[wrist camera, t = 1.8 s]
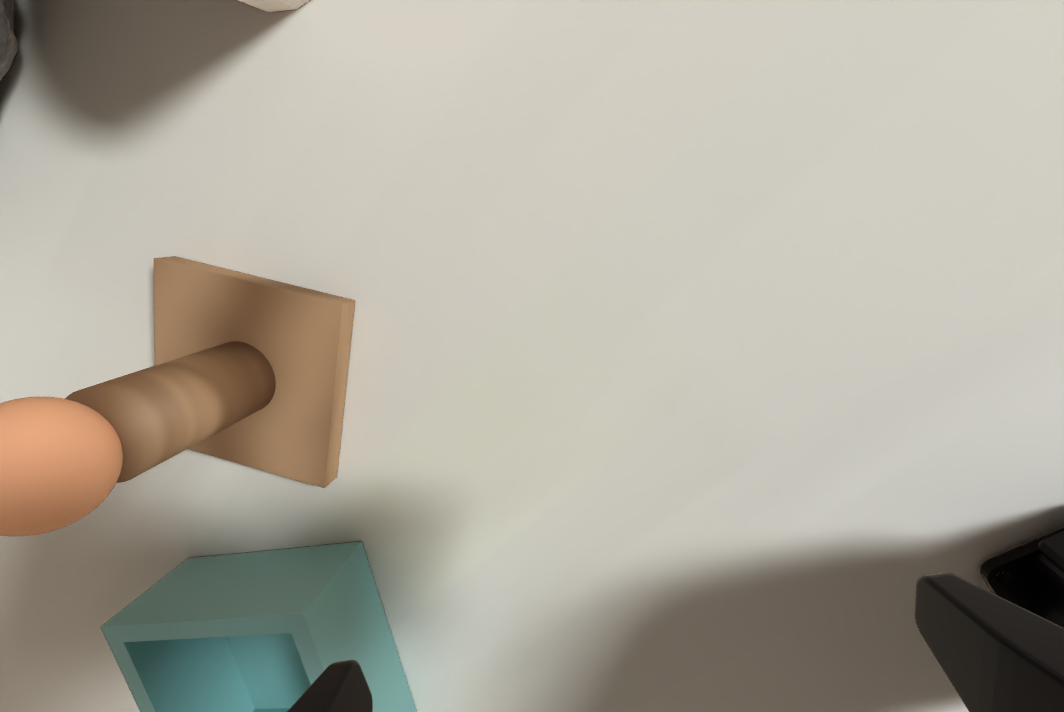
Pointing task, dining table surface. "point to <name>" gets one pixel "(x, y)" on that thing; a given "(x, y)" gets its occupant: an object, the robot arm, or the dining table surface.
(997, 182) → the dining table surface
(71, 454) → the ball
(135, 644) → the teal open-top box
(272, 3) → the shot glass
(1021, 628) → the robot arm
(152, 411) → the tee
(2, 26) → the decorative rock
